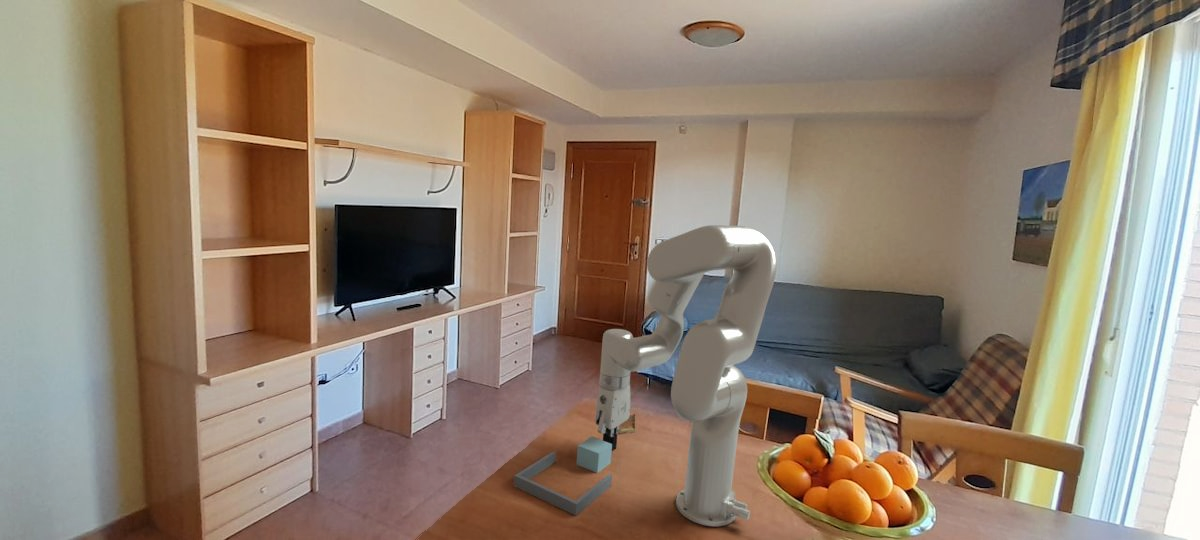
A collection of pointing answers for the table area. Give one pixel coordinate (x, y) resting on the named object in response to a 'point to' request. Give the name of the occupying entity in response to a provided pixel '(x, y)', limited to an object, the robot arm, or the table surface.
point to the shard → (628, 425)
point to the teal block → (594, 454)
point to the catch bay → (551, 496)
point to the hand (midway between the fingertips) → (609, 448)
